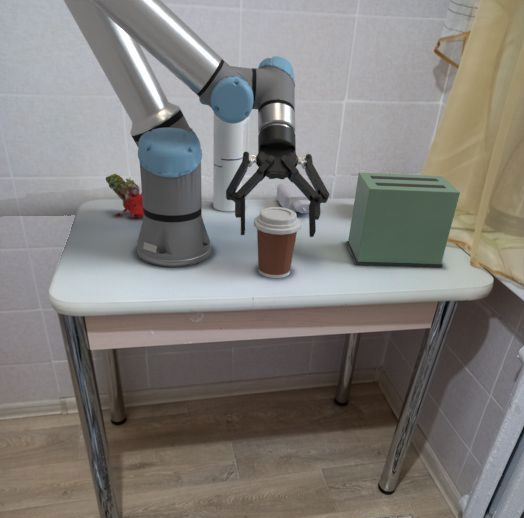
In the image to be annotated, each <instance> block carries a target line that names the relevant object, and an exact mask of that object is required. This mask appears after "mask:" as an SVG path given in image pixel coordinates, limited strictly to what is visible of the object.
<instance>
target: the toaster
mask: <svg viewBox="0 0 524 518" xmlns="http://www.w3.org/2000/svg"><path fill="white" fill-rule="evenodd" d="M460 195H461V192H460V191H459V190H458V188H456V187H455V186H454V185H453V184H452V183H450V181H448V180H447V179H446V178H445V177H444V176H443V175H429V174H427V175H426V174H404V173H403V174H401V173H400V174H399V173H379V172H378V173H376V172H358V175H357V182H356V188H355V195H354V202H353V208H352V214H351V221H350V227H349V233H348V239H347V240H346V246H347V248H348V250H349V252H350V256H351V258H352V260H353V262H354V264H355V266H368V267H369V266H372V267H373V266H376V267H403V268H404V267H405V268H407V267H408V268H439V269H442V268H443V266H444V265H443V263H442V262H443V258H444V254H445V250H446V248H447V243H448V239H449V237H450V236H449V235H450V232H451V228H452V225H453V220H454V218H455V213H456V210H457V206H458V203H459V198H460Z"/></svg>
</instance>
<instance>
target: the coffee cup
mask: <svg viewBox="0 0 524 518" xmlns="http://www.w3.org/2000/svg"><path fill="white" fill-rule="evenodd" d="M253 226H254V228H255V229H256V236H257V237H256V238H257V263H258V266H257V267H258V273H259V274H260V275H261V276H264V277H266V278H270V279H282V278H286V277H287V276H289V275H290V273H291V268H292V262H293V257H294V251H295V246H296V240H297V234H298V232H299V231H300V230H301V229H302V221H301V220H300V219H299V218H298V217H297V212H294V211H293V210H290V209H287V208H283V207H282V206H270V207H265V208H263V209H261V210H259V215H257V217H256V216H255V218H254V219H253Z"/></svg>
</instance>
